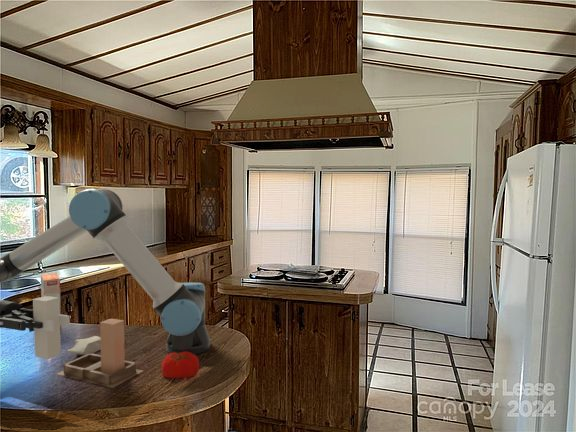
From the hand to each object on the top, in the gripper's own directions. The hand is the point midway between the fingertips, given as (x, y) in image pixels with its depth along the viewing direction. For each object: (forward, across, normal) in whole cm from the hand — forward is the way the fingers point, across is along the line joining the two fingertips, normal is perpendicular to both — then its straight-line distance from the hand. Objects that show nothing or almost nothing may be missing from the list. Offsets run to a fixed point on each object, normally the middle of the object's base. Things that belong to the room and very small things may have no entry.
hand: (60, 323), depth 113 cm
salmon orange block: (+7, -11, -18) cm, 22 cm away
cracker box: (-51, -36, -19) cm, 66 cm away
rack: (+2, -11, -19) cm, 22 cm away
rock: (-18, -25, -20) cm, 37 cm away
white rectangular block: (-5, 0, -10) cm, 11 cm away
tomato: (+23, -21, -20) cm, 37 cm away
